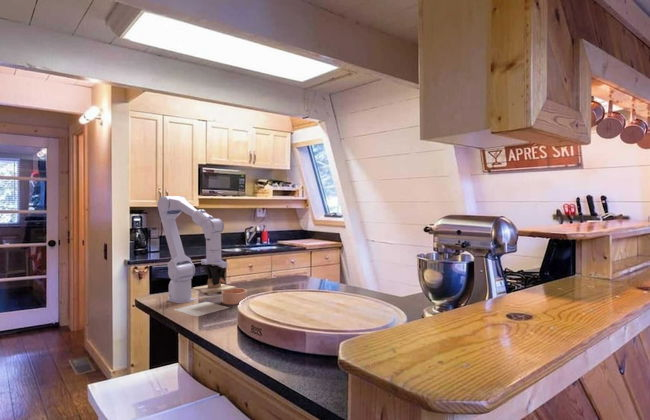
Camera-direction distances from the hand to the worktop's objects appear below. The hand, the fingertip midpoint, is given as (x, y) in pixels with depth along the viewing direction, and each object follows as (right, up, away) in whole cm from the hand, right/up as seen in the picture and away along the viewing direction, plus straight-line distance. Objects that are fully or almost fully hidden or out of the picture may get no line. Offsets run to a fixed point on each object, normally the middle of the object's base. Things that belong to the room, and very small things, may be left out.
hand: (214, 284), depth 166 cm
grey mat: (-4, -9, -4) cm, 11 cm away
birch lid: (0, -2, 0) cm, 2 cm away
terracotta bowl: (+6, -9, +7) cm, 13 cm away
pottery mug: (-5, -8, +24) cm, 26 cm away
